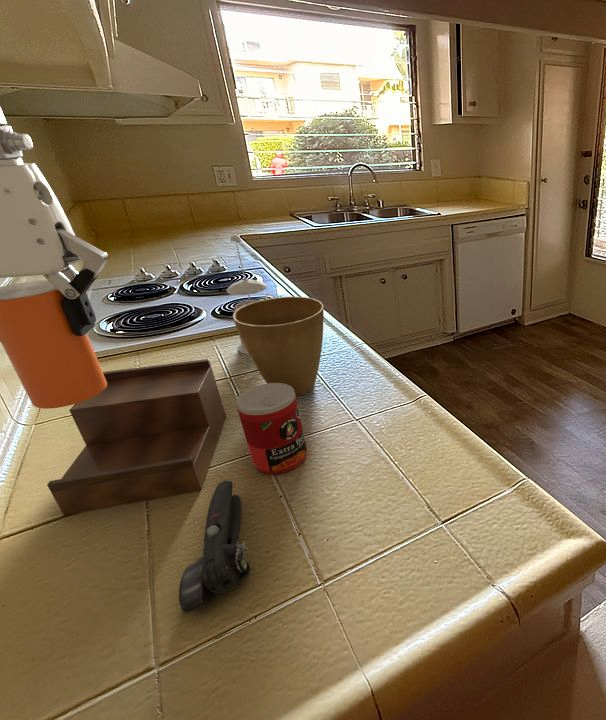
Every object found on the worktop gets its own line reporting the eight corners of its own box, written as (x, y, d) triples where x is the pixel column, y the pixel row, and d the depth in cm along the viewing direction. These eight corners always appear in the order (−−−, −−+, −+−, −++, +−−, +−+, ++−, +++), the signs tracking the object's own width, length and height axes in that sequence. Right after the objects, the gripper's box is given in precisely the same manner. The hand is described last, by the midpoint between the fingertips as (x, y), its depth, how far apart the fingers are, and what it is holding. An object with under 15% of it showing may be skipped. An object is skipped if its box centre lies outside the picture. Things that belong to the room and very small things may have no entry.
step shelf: (63, 515, 60) (24, 445, 54) (119, 432, 76) (93, 372, 71) (201, 490, 64) (177, 422, 59) (226, 416, 80) (209, 358, 75)
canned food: (276, 482, 65) (258, 417, 60) (241, 463, 69) (223, 400, 64) (319, 453, 71) (306, 391, 66) (285, 437, 74) (271, 377, 69)
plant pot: (269, 418, 79) (247, 332, 72) (243, 385, 89) (222, 307, 82) (349, 389, 88) (337, 310, 81) (317, 362, 98) (304, 290, 91)
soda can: (18, 412, 48) (-40, 303, 43) (51, 382, 54) (3, 282, 48) (92, 403, 50) (45, 296, 44) (117, 375, 55) (78, 277, 50)
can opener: (253, 603, 48) (240, 566, 46) (177, 626, 46) (159, 588, 44) (262, 492, 63) (252, 459, 61) (204, 505, 61) (192, 471, 58)
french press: (255, 334, 112) (229, 229, 100) (298, 338, 110) (277, 231, 98) (227, 352, 103) (196, 239, 92) (274, 356, 101) (248, 241, 90)
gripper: (93, 146, 46) (150, 314, 54) (-132, 147, 42) (-33, 330, 50) (54, 149, 39) (126, 340, 47) (-217, 151, 35) (-88, 360, 43)
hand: (44, 333), depth 48 cm, fingers closed on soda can, 6 cm apart
